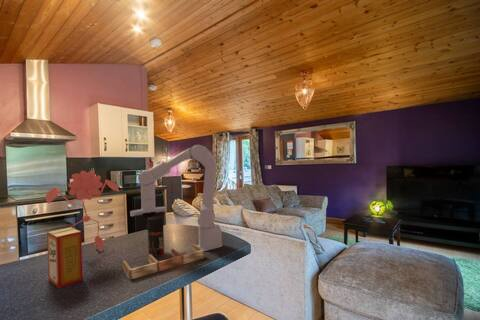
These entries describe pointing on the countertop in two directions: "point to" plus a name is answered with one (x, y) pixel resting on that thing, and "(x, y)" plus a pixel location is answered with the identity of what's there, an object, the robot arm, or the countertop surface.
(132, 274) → the bay rack
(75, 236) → the baking soda box
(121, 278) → the countertop surface
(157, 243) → the deodorant
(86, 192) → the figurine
